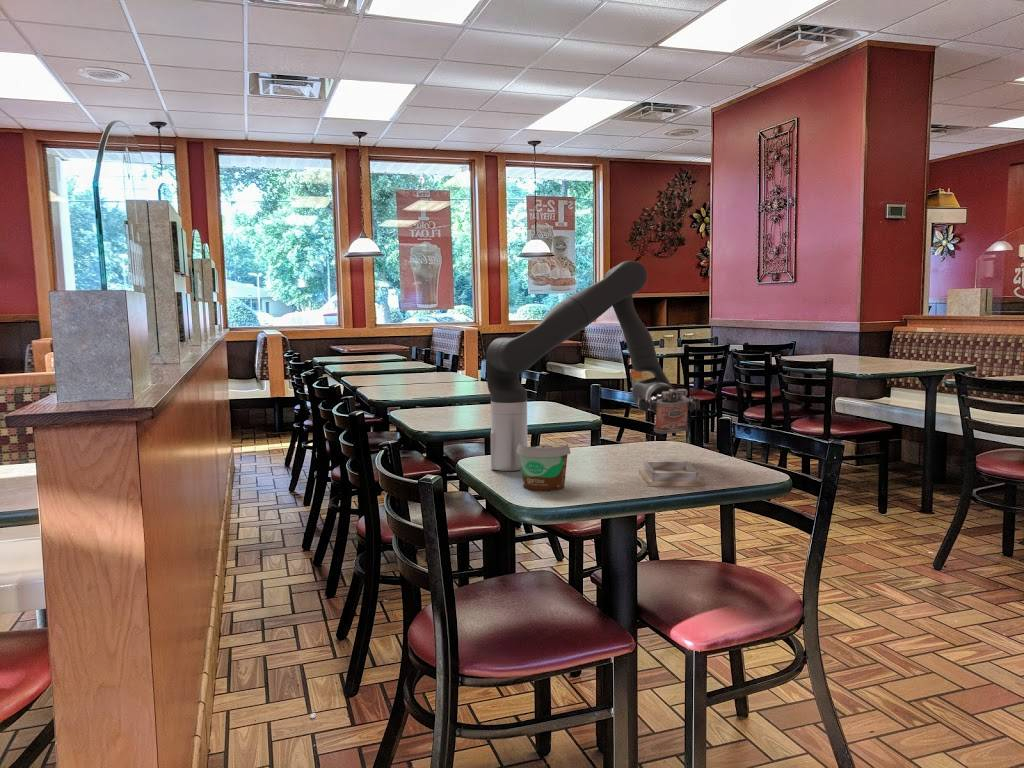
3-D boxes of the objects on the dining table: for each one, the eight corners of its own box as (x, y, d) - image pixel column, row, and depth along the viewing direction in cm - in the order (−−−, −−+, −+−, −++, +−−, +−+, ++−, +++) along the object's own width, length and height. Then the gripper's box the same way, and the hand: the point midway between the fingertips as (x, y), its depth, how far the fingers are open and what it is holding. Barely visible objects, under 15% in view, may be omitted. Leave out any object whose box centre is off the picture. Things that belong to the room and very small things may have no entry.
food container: (511, 491, 167) (510, 447, 167) (517, 485, 173) (517, 442, 173) (566, 494, 165) (565, 448, 164) (570, 487, 170) (570, 443, 170)
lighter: (657, 434, 174) (661, 394, 171) (651, 428, 177) (654, 388, 174) (689, 431, 176) (693, 391, 173) (682, 425, 179) (686, 386, 176)
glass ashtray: (647, 486, 171) (647, 473, 171) (638, 473, 185) (638, 461, 185) (704, 486, 171) (705, 473, 170) (692, 473, 185) (692, 460, 184)
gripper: (633, 383, 189) (642, 391, 173) (690, 383, 189) (705, 390, 173) (633, 413, 190) (642, 423, 174) (690, 413, 190) (704, 423, 174)
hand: (673, 407), depth 173 cm, fingers closed on lighter, 8 cm apart
